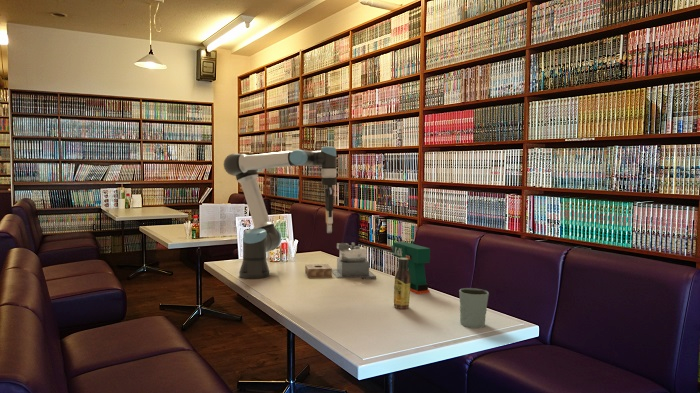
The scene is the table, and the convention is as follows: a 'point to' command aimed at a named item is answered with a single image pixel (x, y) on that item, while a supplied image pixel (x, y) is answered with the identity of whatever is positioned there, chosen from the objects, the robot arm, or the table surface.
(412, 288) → the power tool
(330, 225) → the orange rounded rod
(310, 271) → the wooden hole block
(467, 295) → the grey cup
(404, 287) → the sauce bottle
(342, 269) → the stand
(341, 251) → the chuck
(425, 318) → the table surface
